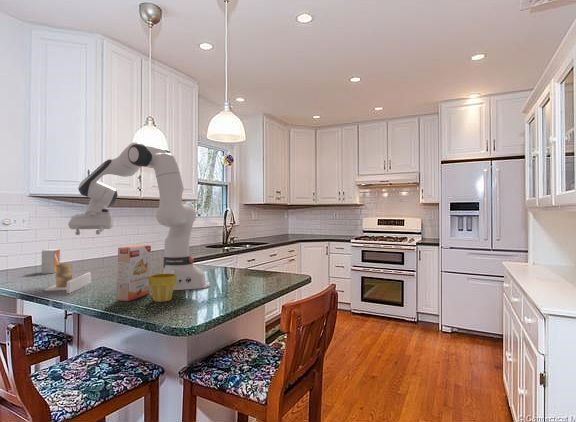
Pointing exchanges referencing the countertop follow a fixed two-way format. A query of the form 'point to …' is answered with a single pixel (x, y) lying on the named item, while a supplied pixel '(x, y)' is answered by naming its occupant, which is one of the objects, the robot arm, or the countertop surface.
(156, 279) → the plant pot
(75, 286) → the low wall
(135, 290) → the cracker box
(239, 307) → the countertop surface
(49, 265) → the small box
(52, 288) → the pad
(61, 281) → the maple block
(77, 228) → the robot arm
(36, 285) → the countertop surface
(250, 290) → the countertop surface
